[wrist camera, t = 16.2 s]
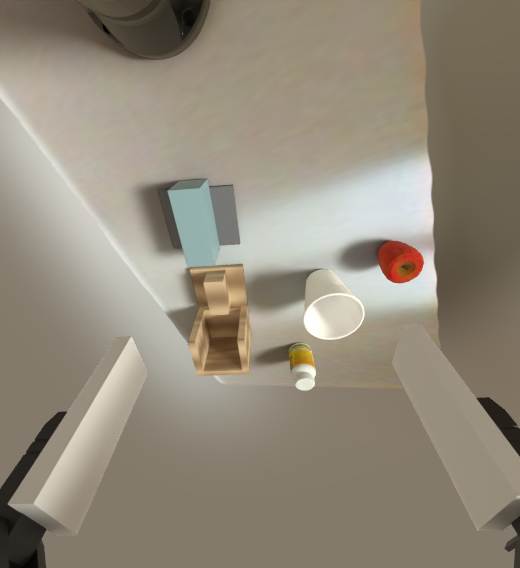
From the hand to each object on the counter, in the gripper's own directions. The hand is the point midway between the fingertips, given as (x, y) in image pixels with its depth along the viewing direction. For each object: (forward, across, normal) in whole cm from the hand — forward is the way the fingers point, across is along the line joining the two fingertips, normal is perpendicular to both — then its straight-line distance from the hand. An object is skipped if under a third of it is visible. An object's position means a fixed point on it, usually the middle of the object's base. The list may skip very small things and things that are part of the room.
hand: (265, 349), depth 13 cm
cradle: (+35, -10, -23) cm, 43 cm away
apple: (+35, +22, -13) cm, 43 cm away
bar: (+34, -11, -4) cm, 36 cm away
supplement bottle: (+35, +6, -38) cm, 52 cm away
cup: (+35, +10, -19) cm, 41 cm away
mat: (+35, -11, -4) cm, 37 cm away
